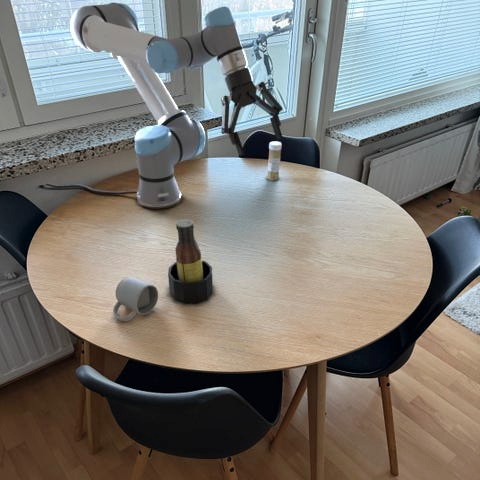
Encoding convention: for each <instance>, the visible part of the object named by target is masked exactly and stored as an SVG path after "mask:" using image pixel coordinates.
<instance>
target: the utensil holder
mask: <svg viewBox="0 0 480 480" xmlns="http://www.w3.org/2000/svg"><path fill="white" fill-rule="evenodd" d="M202 269H203V280H200V281H197V282H182V281H179V276H178V269H177V261H175V262H174V263H172V264H171V265H170V266H169V267H168V269H167V270H168V272H167V277H168V286H169V287H168V288H169V295H170V297H172V299H173V300H174V301H175V302H177V303H180V304H182V305H198V304H201V303H204V302H206V301H208V300H209V299H210V297H212V295H214V289H213V287H214V286H213V285H214V284H213V266H212V265H210V263H208V262H207V261H206V260H203V259H202Z"/></svg>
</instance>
